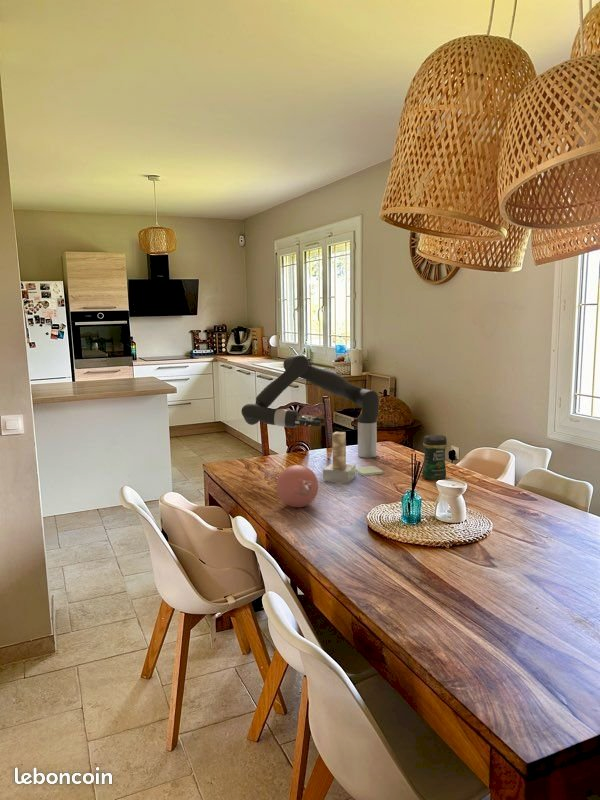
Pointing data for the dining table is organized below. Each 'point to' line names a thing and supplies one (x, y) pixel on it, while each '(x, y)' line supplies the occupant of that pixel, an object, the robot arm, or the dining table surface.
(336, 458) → the beech peg
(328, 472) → the block
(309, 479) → the pink rubber ball
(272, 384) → the robot arm
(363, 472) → the sage mat
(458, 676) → the dining table surface
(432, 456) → the coffee jar
